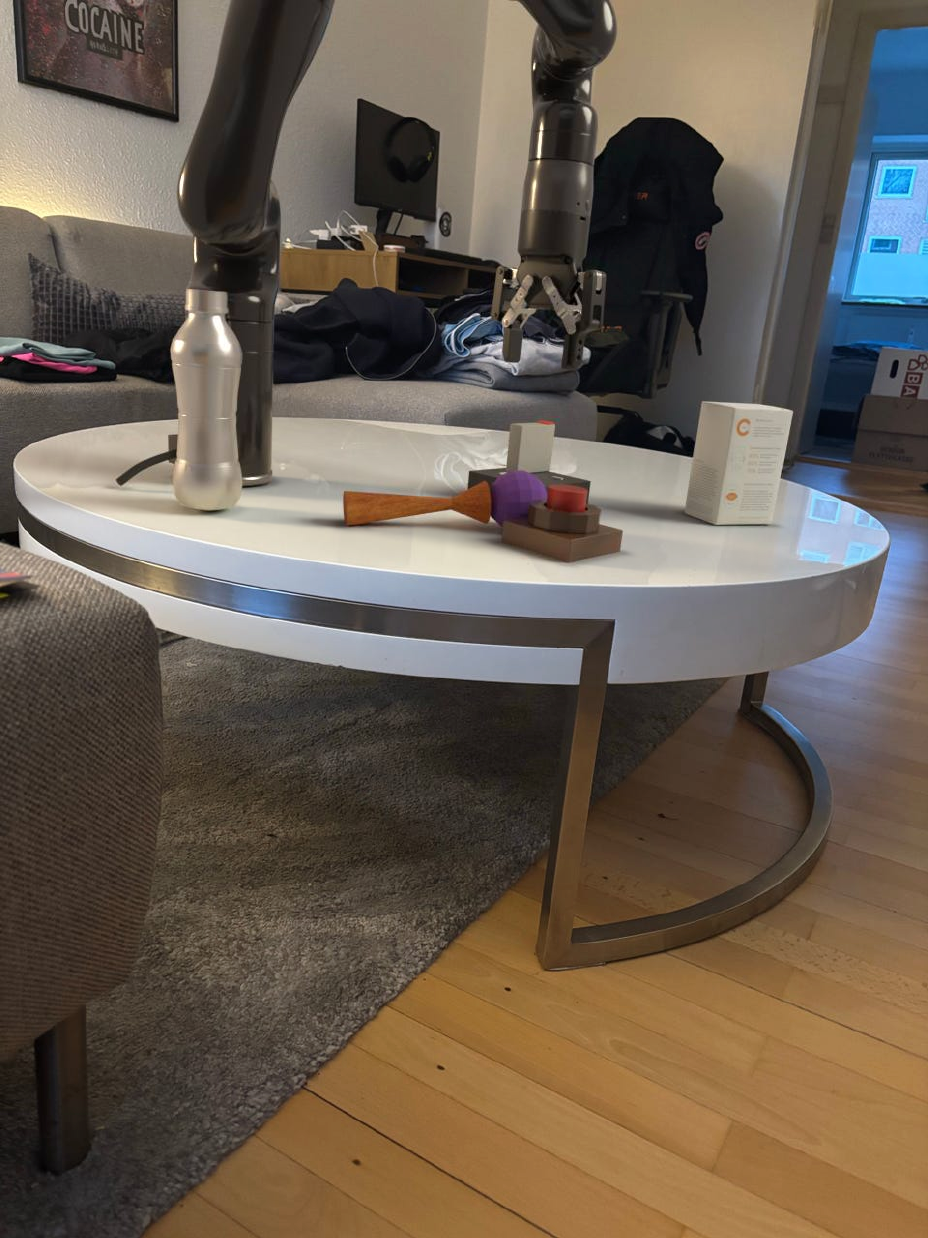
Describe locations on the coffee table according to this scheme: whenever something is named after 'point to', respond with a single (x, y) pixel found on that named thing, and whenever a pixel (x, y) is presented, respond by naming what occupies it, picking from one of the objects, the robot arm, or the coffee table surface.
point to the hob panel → (544, 477)
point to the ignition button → (566, 498)
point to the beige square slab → (530, 446)
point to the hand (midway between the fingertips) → (540, 366)
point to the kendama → (451, 501)
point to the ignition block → (562, 533)
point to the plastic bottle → (206, 405)
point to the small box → (737, 463)
